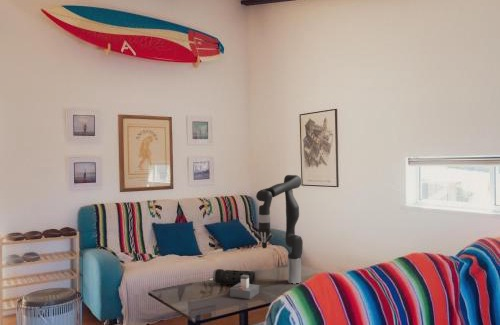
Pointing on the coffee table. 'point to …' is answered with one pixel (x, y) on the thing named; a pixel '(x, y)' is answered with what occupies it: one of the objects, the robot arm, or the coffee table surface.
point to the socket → (244, 291)
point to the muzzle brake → (232, 276)
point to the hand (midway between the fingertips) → (264, 248)
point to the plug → (245, 281)
